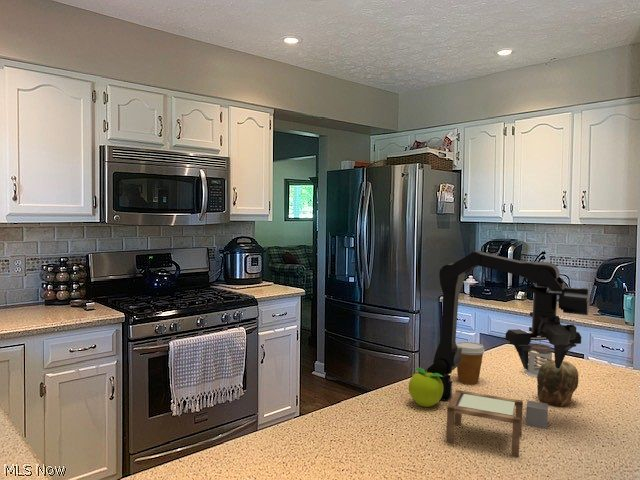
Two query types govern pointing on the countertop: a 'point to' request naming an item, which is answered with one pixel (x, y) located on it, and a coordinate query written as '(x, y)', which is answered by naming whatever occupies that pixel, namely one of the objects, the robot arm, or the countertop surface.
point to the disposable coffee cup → (470, 362)
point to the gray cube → (536, 414)
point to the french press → (542, 353)
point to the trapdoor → (487, 404)
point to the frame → (457, 412)
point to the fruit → (426, 388)
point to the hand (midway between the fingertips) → (541, 368)
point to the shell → (557, 383)
